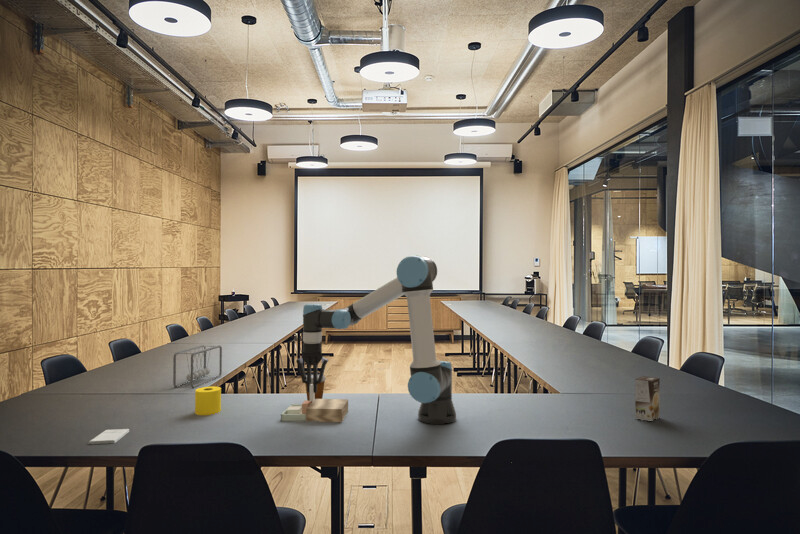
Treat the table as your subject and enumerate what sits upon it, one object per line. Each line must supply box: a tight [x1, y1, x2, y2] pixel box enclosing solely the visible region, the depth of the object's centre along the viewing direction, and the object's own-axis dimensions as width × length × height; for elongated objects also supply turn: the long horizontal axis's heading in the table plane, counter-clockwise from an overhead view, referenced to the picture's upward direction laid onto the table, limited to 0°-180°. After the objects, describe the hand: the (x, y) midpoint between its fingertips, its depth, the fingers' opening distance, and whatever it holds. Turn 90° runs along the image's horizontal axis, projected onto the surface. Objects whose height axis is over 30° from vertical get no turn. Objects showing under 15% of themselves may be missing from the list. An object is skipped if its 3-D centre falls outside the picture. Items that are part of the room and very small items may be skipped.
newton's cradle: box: [172, 344, 223, 389], centre depth 262 cm, size 30×10×18 cm, turn 172°
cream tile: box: [286, 405, 302, 414], centre depth 201 cm, size 5×5×2 cm
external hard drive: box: [88, 428, 130, 445], centre depth 174 cm, size 2×8×12 cm
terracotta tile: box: [301, 400, 311, 415], centre depth 200 cm, size 5×5×2 cm
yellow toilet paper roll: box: [194, 386, 222, 416], centre depth 206 cm, size 10×10×9 cm
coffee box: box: [634, 375, 661, 421], centre depth 198 cm, size 9×6×16 cm
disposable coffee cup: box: [305, 373, 327, 403], centre depth 220 cm, size 10×10×12 cm
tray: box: [280, 403, 307, 422], centre depth 201 cm, size 10×15×2 cm, turn 177°
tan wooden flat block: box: [305, 398, 349, 423], centre depth 200 cm, size 14×15×5 cm
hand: (312, 400), depth 200 cm, fingers closed
